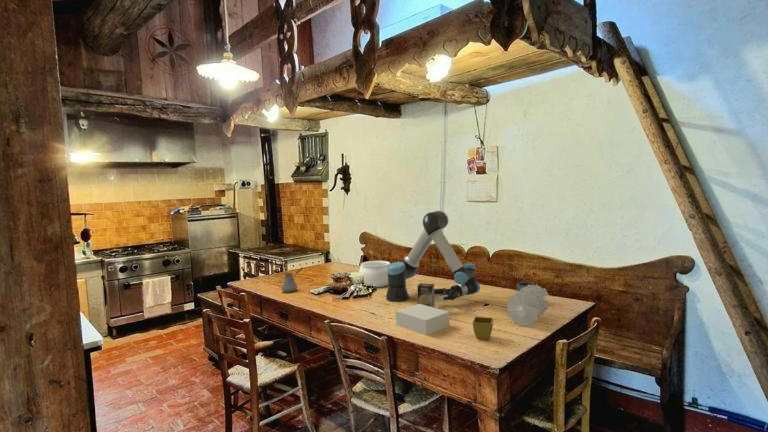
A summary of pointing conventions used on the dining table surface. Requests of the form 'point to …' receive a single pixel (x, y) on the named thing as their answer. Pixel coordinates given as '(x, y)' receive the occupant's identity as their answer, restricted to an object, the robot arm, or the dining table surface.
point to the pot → (375, 272)
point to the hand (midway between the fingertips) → (431, 296)
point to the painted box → (422, 319)
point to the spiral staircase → (527, 305)
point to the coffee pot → (289, 282)
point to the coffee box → (426, 294)
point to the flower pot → (482, 327)
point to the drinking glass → (523, 285)
